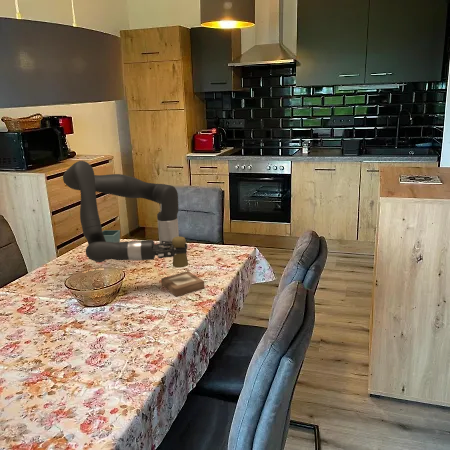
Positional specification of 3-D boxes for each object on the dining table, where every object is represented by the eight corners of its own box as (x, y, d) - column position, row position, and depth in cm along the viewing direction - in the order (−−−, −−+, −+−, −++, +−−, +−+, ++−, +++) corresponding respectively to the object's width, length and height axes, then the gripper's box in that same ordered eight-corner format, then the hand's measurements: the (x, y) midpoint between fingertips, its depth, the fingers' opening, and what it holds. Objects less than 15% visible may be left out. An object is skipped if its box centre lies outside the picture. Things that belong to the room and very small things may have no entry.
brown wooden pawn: (191, 264, 168) (190, 236, 165) (179, 268, 164) (177, 240, 161) (181, 260, 172) (179, 233, 169) (169, 265, 168) (167, 237, 165)
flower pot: (98, 252, 215) (96, 235, 213) (106, 246, 223) (103, 230, 221) (115, 252, 214) (113, 235, 211) (122, 247, 222) (120, 230, 219)
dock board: (161, 285, 173) (161, 278, 172) (188, 278, 179) (188, 270, 178) (176, 296, 162) (175, 289, 161) (204, 288, 168) (204, 280, 167)
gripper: (137, 246, 158) (185, 244, 158) (143, 235, 171) (187, 233, 172) (139, 266, 160) (186, 264, 160) (144, 253, 174) (188, 251, 174)
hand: (186, 248), depth 166 cm, fingers closed on brown wooden pawn, 4 cm apart
